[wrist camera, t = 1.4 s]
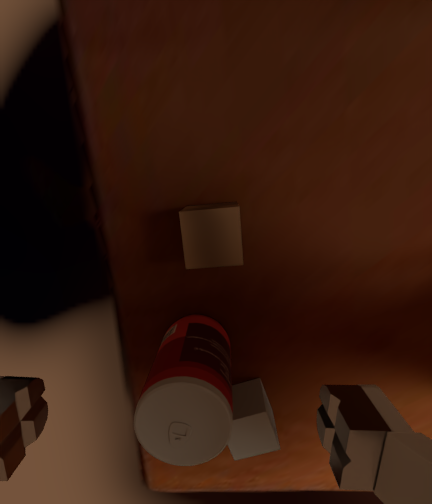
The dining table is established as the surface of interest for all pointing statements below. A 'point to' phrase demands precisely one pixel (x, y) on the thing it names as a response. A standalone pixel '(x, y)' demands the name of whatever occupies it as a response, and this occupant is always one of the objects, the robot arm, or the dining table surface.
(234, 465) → the dining table surface
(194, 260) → the walnut block
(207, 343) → the canned food
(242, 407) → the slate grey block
